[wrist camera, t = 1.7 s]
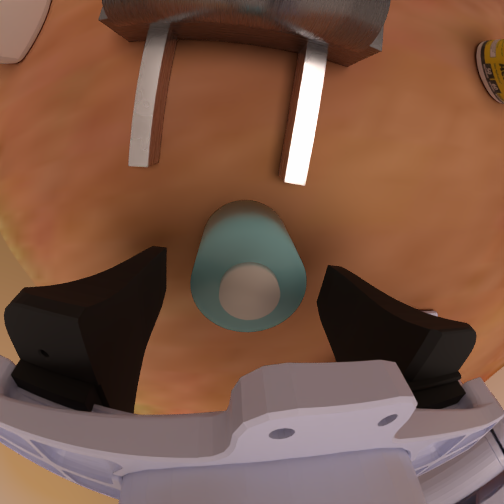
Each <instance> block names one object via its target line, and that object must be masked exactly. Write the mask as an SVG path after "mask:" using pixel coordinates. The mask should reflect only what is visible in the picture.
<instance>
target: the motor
mask: <svg viewBox="0 0 504 504" xmlns="http://www.w3.org/2000/svg"><path fill="white" fill-rule="evenodd" d="M102 4H103V7H102V10H101V13H100V17H99V21H100V22H102V23H103V24H105V25H106V26H108V27H109V28H111V29H112V30H113V31H115V32H116V33H118V34H119V35H120V36H122V37H123V38H125V39H126V40H127V41H129V42H133V41H146V43H145V47H144V52H143V57H142V62H141V67H140V72H139V78H138V84H137V90H136V96H135V103H134V111H133V119H132V128H131V139H130V151H129V166H139V167H149V166H151V165H153V164H156V163H158V162H159V155H160V145H161V135H162V127H163V119H164V111H165V104H166V97H167V91H168V85H169V79H170V73H171V68H172V62H173V57H174V52H175V48H176V43H177V40H208V41H222V42H233V43H242V44H250V45H257V46H263V47H269V48H275V49H280V50H285V51H290V52H295V53H298V58H297V65H296V71H295V77H294V83H293V90H292V96H291V102H290V108H289V114H288V120H287V126H286V132H285V138H284V143H283V149H282V155H281V161H280V167H279V172H278V176H279V177H280V178H281V179H282V180H283V181H284V182H287V183H293V184H299V185H305V183H306V178H307V172H308V167H309V162H310V157H311V151H312V146H313V140H314V135H315V129H316V123H317V117H318V111H319V105H320V99H321V93H322V87H323V80H324V73H325V67H326V60H327V61H330V62H334V63H337V64H340V65H344V66H347V67H348V66H350V65H352V64H354V63H356V62H358V61H361V60H363V59H365V58H367V57H369V56H372V55H374V54H376V53H378V52H381V51H382V41H383V26H384V22H385V20H386V17H387V14H388V11H389V6H390V0H102Z"/></svg>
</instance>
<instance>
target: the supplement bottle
mask: <svg viewBox="0 0 504 504" xmlns="http://www.w3.org/2000/svg"><path fill="white" fill-rule="evenodd" d="M476 59H477V66H478V70H479V74H480V77H481V79H482V81H483V83H484V85H485V87H486V89H487V91H488V92H489V94H490V95H491V96H492V97H493V98H494V99H495V100H496V101H498V102H499V103H502V104H504V39H500V40H490V41H484V42H482V43H480V44H479V46H478V48H477V54H476Z"/></svg>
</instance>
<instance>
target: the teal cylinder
mask: <svg viewBox="0 0 504 504" xmlns="http://www.w3.org/2000/svg"><path fill="white" fill-rule="evenodd" d="M306 281H307V280H306V272H305V268H304V266H303V263H302V261H301V259H300V257H299V255H298V253H297V250H296V248H295V246H294V244H293V242H292V240H291V238H290V236H289V234H288V232H287V230H286V228H285V226H284V224H283V222H282V220H281V219H280V217H279V216H278V215H277V213H276V212H275V211H273V210H272V209H271V208H269V207H268V206H266V205H264V204H262V203H259V202H256V201H250V200H240V201H235V202H231V203H228V204H226V205H224V206H222V207H221V208H219V209H218V210H217V211H216V212H215V213H214V214H213V215H212V216H211V217H210V219H209V220H208V222H207V224H206V226H205V229H204V232H203V236H202V239H201V242H200V246H199V249H198V253H197V257H196V260H195V264H194V267H193V271H192V275H191V293H192V296H193V299H194V302H195V304H196V306H197V307H198V309H199V310H200V311H201V312H202V314H203V315H204V316H205V317H206V318H208V319H209V320H210V321H212V322H213V323H215V324H216V325H219V326H221V327H223V328H226V329H229V330H233V331H239V332H256V331H262V330H265V329H269V328H271V327H274V326H276V325H278V324H280V323H281V322H283V321H284V320H286V319H287V318H288V317H290V316H291V315H292V314H293V313H294V312H295V310H296V309H297V308H298V306H299V305H300V303H301V301H302V299H303V297H304V294H305V290H306Z"/></svg>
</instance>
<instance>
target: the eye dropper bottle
mask: <svg viewBox="0 0 504 504" xmlns="http://www.w3.org/2000/svg"><path fill="white" fill-rule="evenodd" d="M50 2H51V0H0V63H1V64H12V63H17V62H19V61H21V60H22V59H23V58H24V57H25V55H26V54H27V52H28V51H29V49H30V48H31V46H32V44H33V42H34V41H35V39H36V37H37V35H38V33H39V31H40V30H41V27H42V25H43V23H44V21H45V18H46V16H47V13H48V10H49V6H50Z"/></svg>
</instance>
